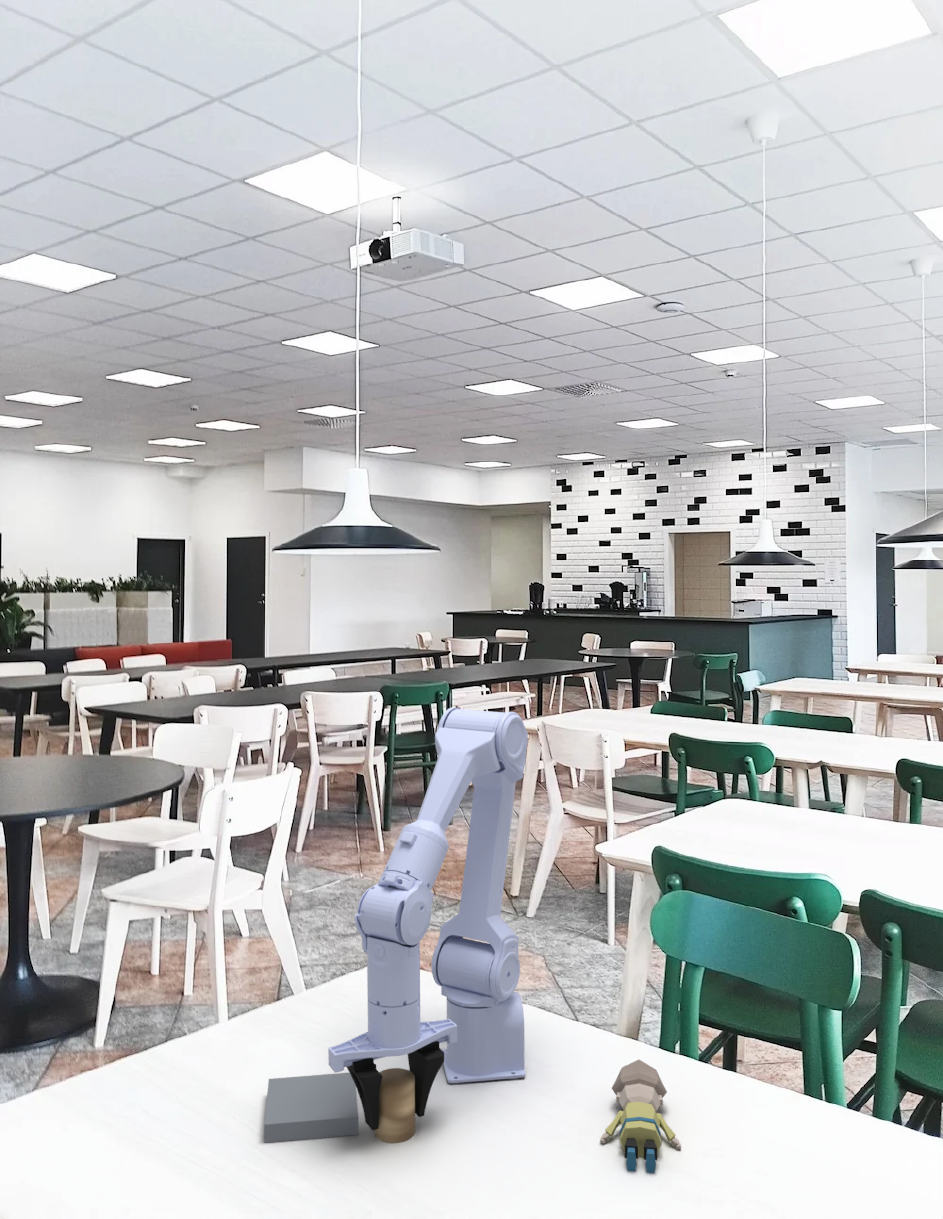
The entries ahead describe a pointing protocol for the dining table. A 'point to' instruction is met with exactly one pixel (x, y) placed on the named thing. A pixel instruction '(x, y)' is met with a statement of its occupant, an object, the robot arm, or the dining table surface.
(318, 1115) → the plate
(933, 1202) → the dining table surface
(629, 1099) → the toy
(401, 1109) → the oak cylinder
